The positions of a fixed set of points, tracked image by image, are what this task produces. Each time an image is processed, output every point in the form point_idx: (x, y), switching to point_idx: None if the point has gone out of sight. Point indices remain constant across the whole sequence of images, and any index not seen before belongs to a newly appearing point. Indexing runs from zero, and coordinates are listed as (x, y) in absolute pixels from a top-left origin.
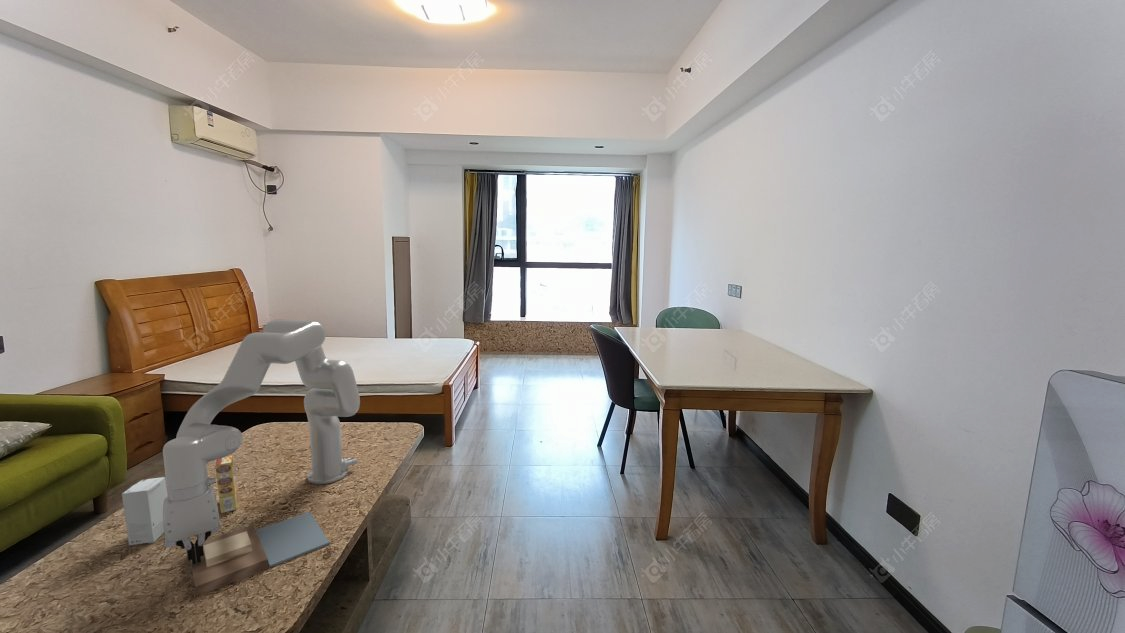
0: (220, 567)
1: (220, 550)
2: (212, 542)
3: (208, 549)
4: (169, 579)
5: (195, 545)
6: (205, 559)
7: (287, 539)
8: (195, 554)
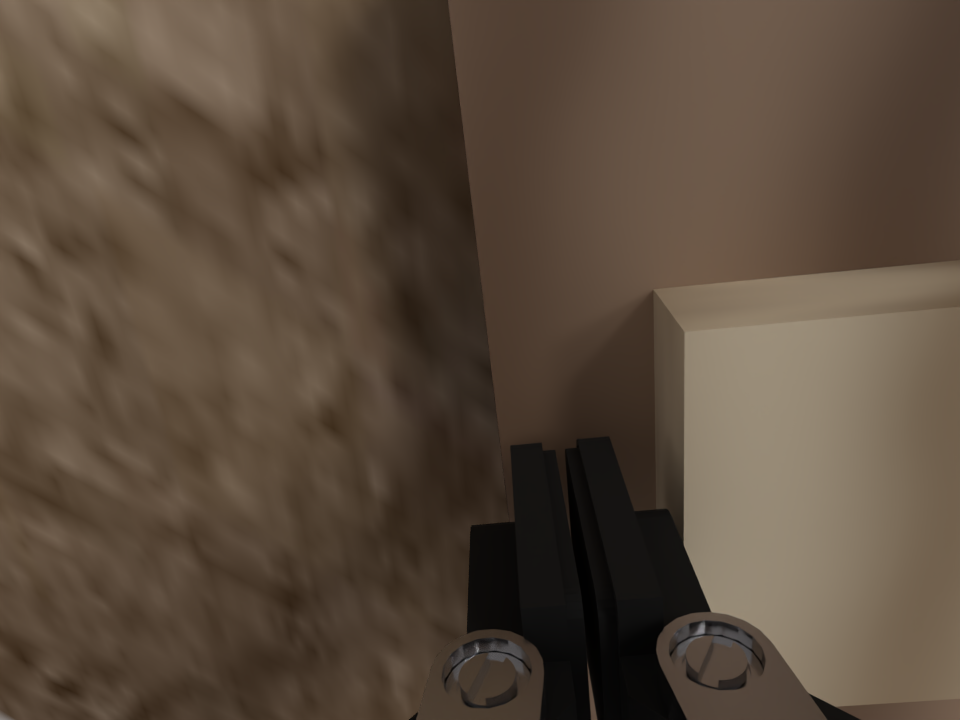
0: None
1: (872, 612)
2: (794, 25)
3: (739, 496)
4: (296, 381)
5: (609, 708)
6: (660, 508)
7: None
8: (547, 259)
